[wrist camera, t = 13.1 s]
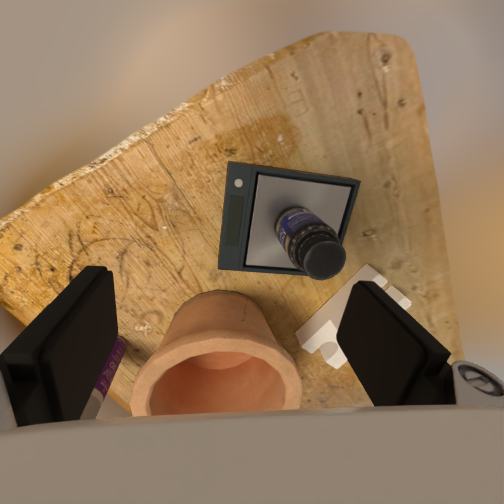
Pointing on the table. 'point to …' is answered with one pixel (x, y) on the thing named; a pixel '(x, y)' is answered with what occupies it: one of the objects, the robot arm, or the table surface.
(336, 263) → the pill bottle
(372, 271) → the block with arch cutout
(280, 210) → the scale pan
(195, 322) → the pottery
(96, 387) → the container
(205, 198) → the table surface
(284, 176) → the scale
